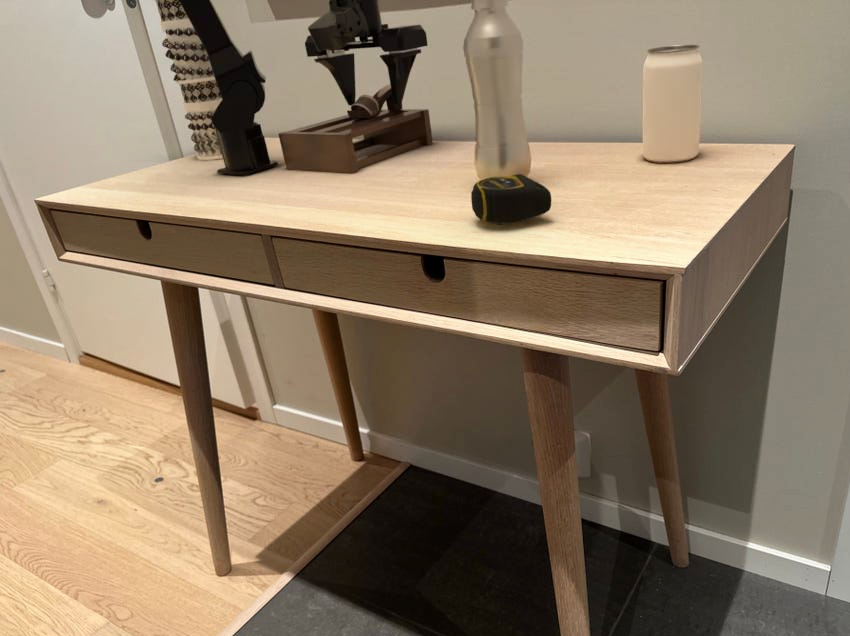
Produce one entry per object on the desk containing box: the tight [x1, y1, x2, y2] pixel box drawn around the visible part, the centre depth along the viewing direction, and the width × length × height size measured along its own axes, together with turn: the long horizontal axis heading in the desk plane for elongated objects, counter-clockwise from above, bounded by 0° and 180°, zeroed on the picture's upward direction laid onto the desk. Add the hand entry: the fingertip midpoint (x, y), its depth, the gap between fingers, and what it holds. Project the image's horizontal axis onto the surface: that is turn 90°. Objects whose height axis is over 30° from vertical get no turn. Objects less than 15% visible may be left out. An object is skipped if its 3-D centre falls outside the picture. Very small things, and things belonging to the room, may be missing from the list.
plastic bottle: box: [462, 0, 532, 181], centre depth 76 cm, size 6×7×20 cm
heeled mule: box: [346, 83, 403, 118], centre depth 104 cm, size 4×11×4 cm, turn 141°
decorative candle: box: [154, 0, 223, 161], centre depth 112 cm, size 9×9×25 cm
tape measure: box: [470, 174, 552, 226], centre depth 67 cm, size 7×7×4 cm
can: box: [642, 44, 703, 164], centre depth 81 cm, size 6×6×12 cm
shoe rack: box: [278, 108, 434, 174], centre depth 103 cm, size 13×18×5 cm
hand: (374, 105), depth 104 cm, fingers open, 9 cm apart
